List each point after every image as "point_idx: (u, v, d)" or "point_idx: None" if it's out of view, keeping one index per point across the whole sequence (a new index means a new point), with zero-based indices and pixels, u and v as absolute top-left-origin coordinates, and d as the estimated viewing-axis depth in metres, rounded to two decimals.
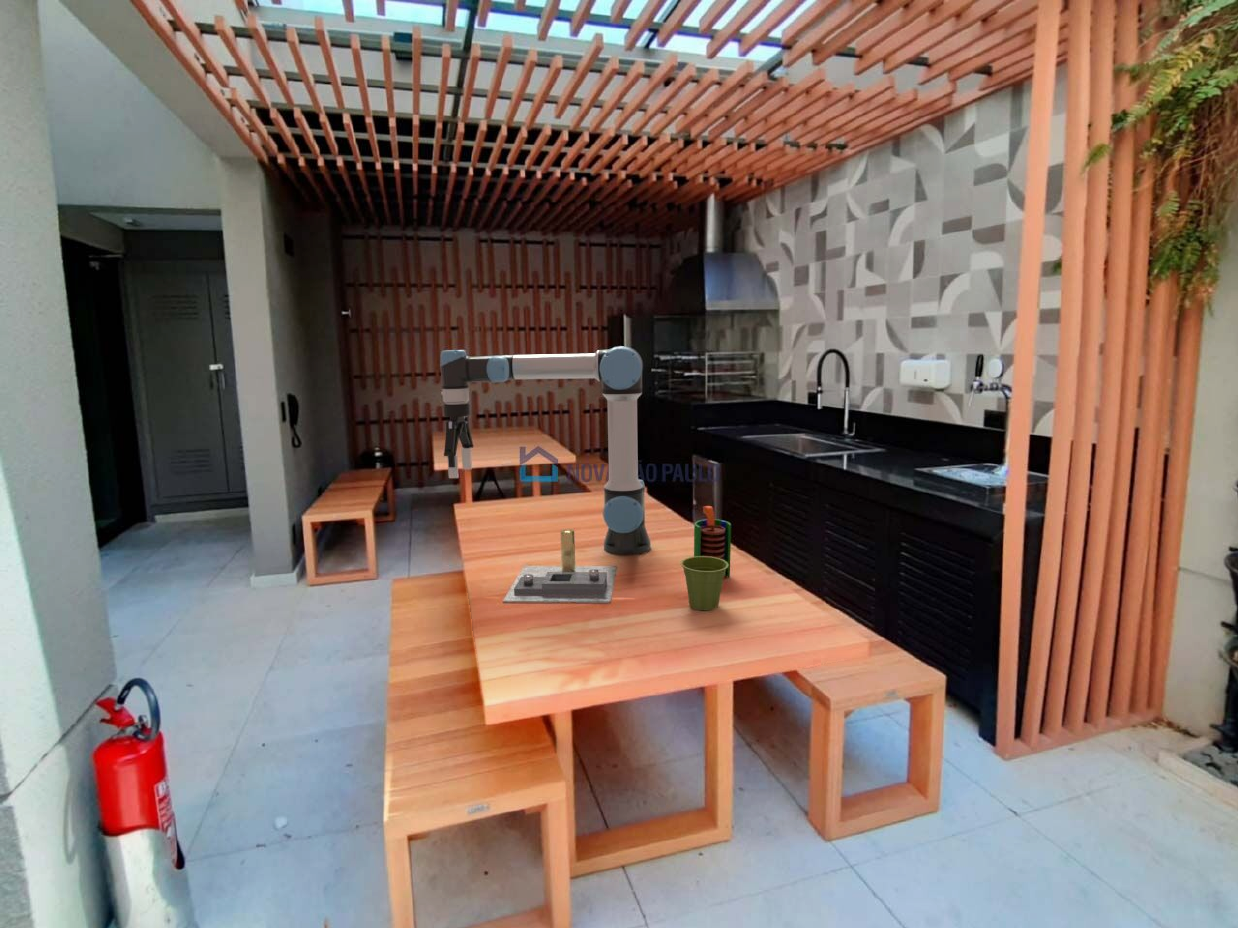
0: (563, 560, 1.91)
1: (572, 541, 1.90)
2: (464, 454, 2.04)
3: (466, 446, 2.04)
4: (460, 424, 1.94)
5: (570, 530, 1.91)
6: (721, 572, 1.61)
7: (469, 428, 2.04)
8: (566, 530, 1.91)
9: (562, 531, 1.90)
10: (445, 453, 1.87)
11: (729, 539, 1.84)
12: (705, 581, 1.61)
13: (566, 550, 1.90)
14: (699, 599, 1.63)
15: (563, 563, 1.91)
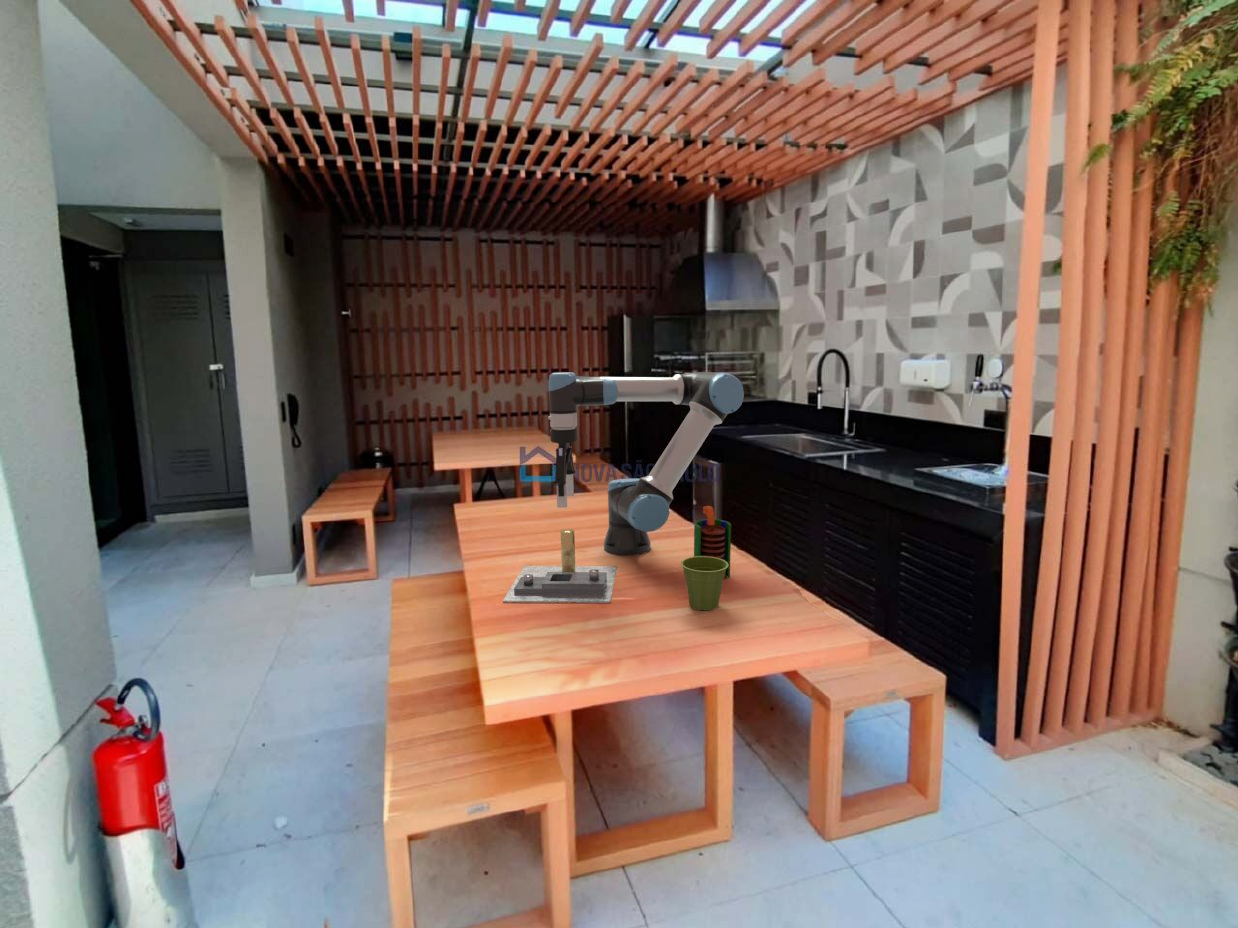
0: (563, 560, 1.91)
1: (572, 541, 1.90)
2: (566, 480, 1.95)
3: (568, 472, 1.95)
4: (568, 450, 1.84)
5: (570, 530, 1.91)
6: (721, 572, 1.61)
7: None
8: (566, 530, 1.91)
9: (562, 531, 1.90)
10: (556, 482, 1.78)
11: (729, 539, 1.84)
12: (705, 581, 1.61)
13: (566, 550, 1.90)
14: (699, 599, 1.63)
15: (563, 563, 1.91)
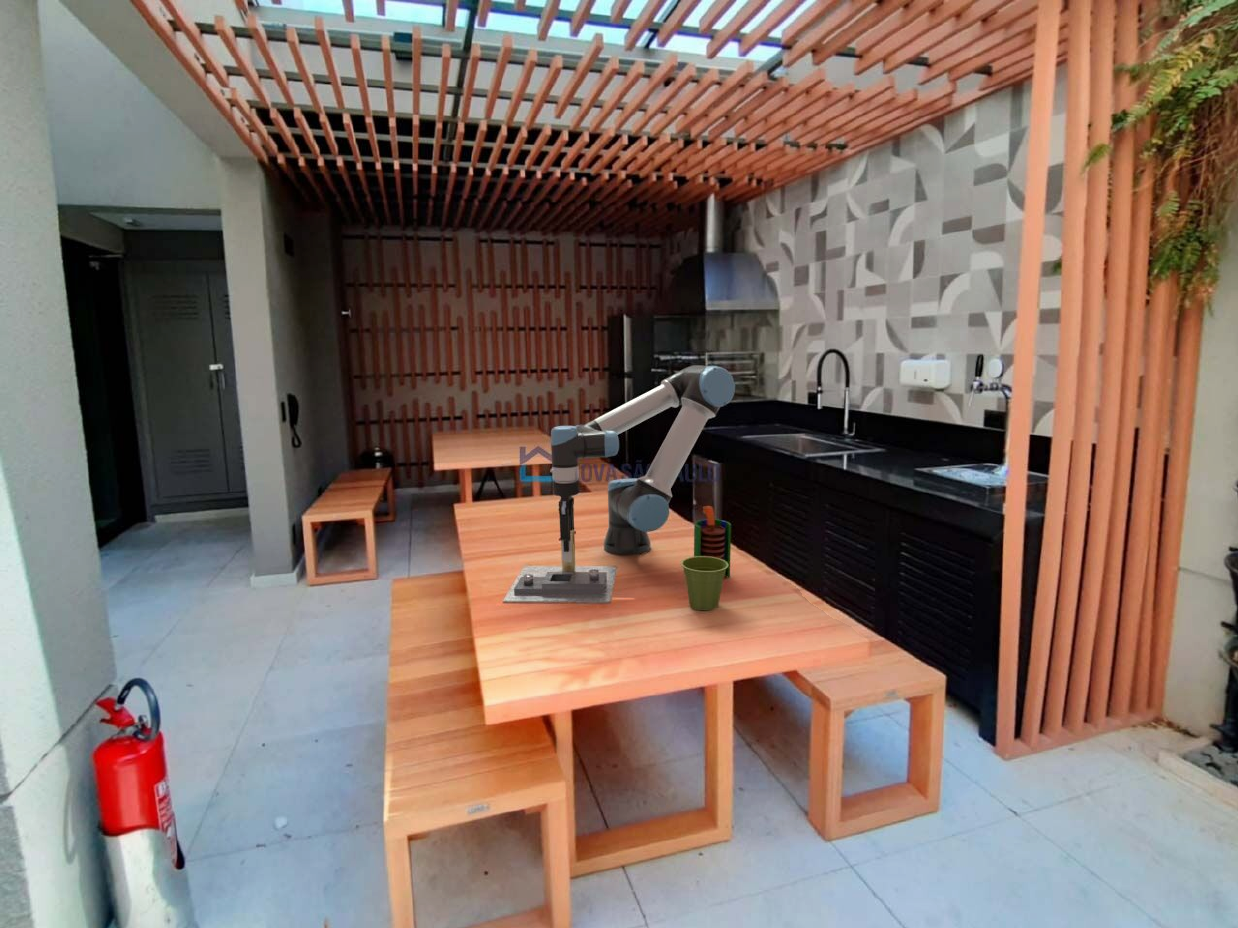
0: None
1: (572, 541, 1.90)
2: None
3: None
4: (570, 504, 1.87)
5: (570, 530, 1.91)
6: (721, 572, 1.61)
7: (573, 511, 1.96)
8: None
9: None
10: (561, 538, 1.85)
11: (729, 539, 1.84)
12: (705, 581, 1.61)
13: None
14: (699, 599, 1.63)
15: (563, 563, 1.91)
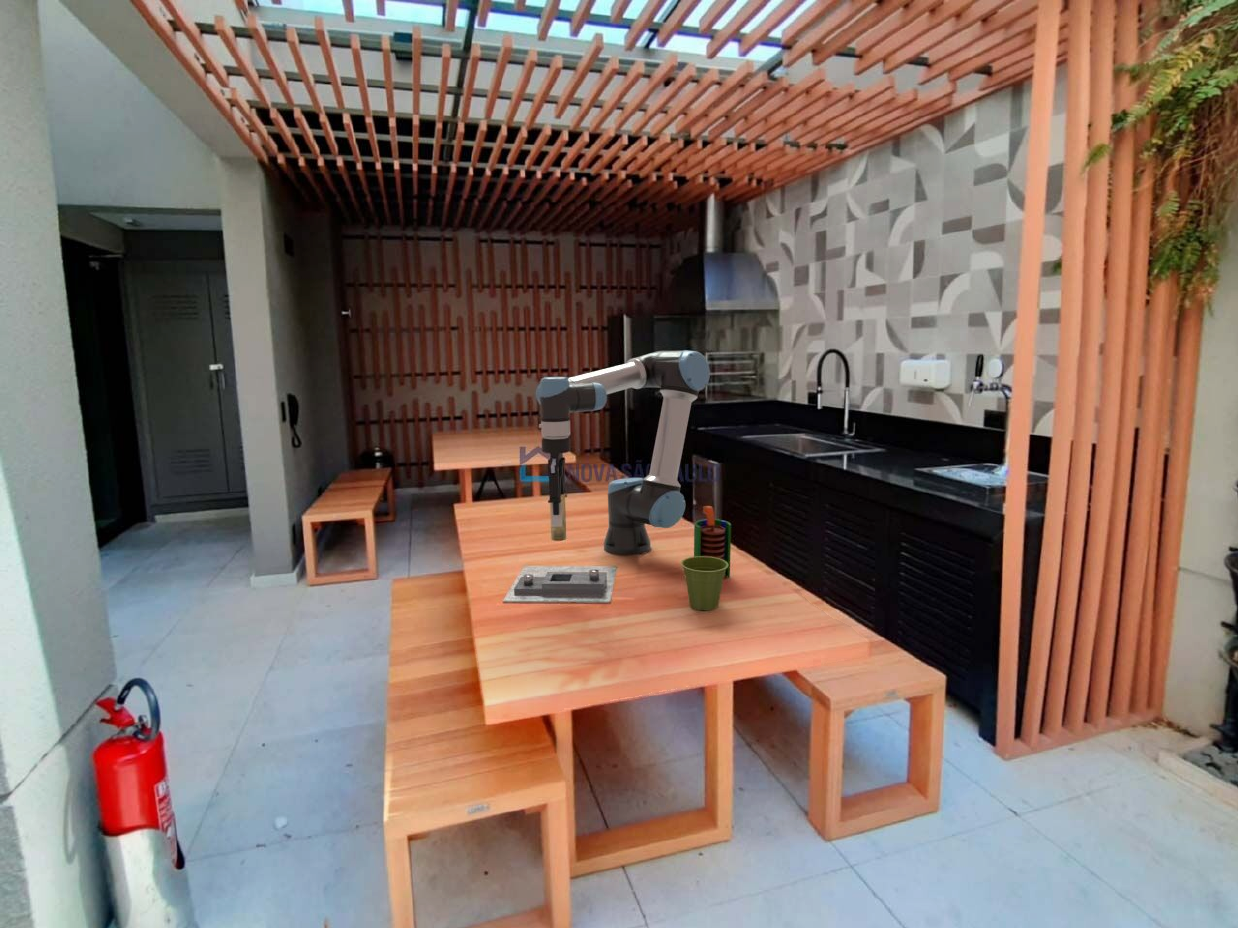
0: (553, 527, 1.74)
1: (562, 506, 1.74)
2: None
3: None
4: (561, 462, 1.71)
5: None
6: (721, 572, 1.61)
7: (564, 472, 1.79)
8: None
9: None
10: (551, 500, 1.69)
11: (729, 539, 1.84)
12: (705, 581, 1.61)
13: None
14: (699, 599, 1.63)
15: (553, 530, 1.75)
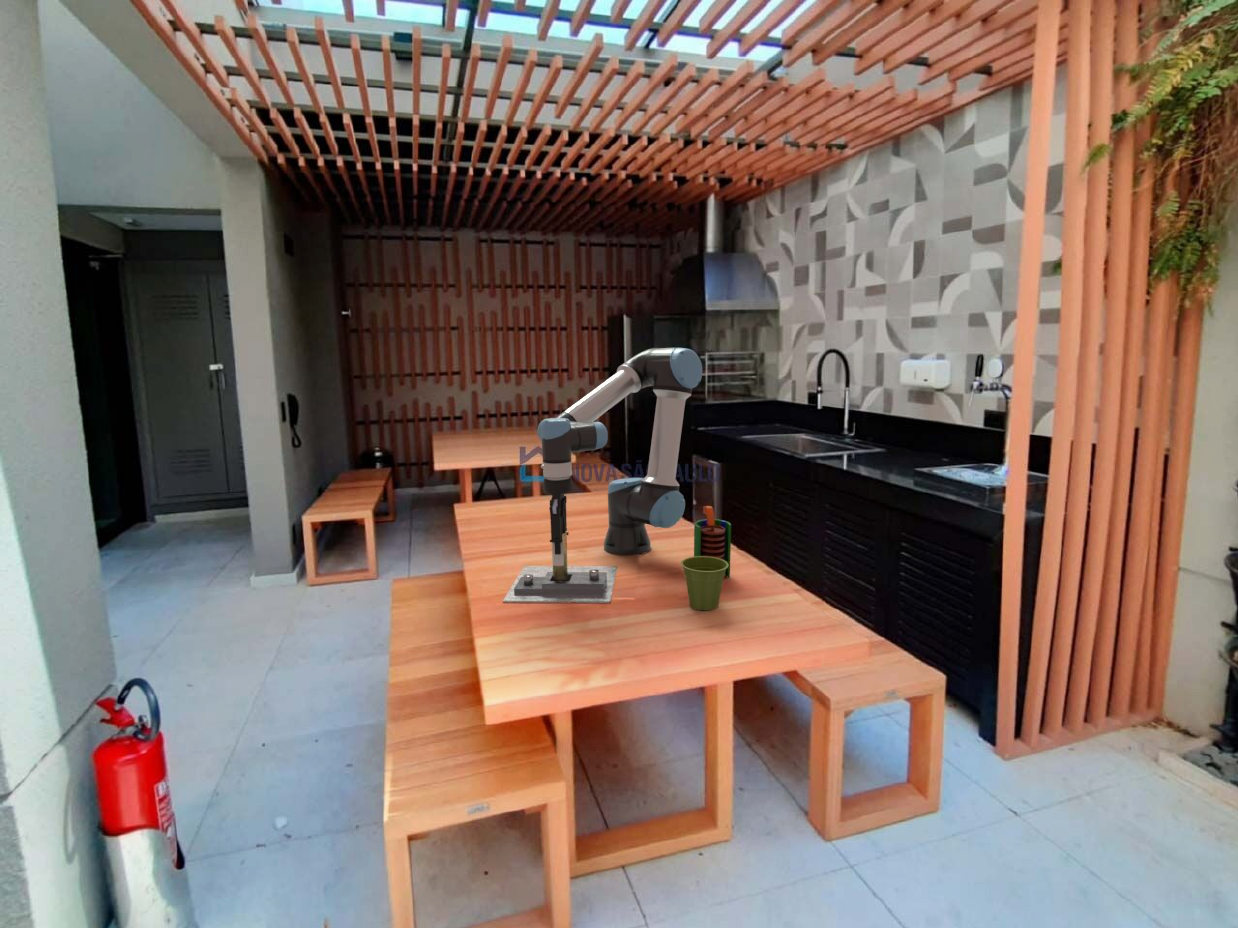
0: (554, 566, 1.76)
1: (564, 545, 1.76)
2: None
3: None
4: (562, 503, 1.73)
5: (562, 533, 1.77)
6: (721, 572, 1.61)
7: None
8: None
9: None
10: (552, 540, 1.71)
11: (729, 539, 1.84)
12: (705, 581, 1.61)
13: None
14: (699, 599, 1.63)
15: (554, 569, 1.77)
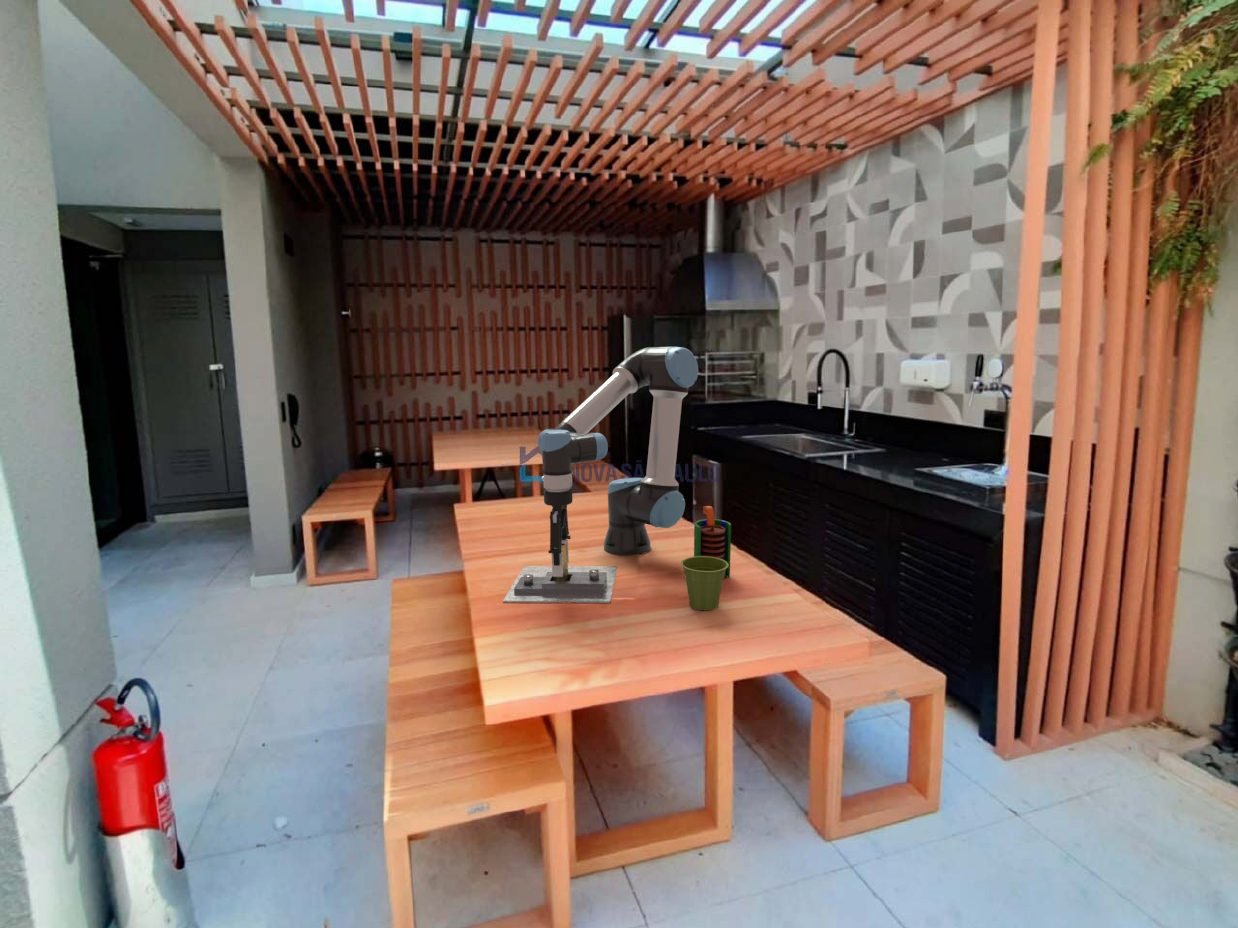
0: (555, 577, 1.77)
1: (565, 556, 1.76)
2: None
3: (563, 537, 1.82)
4: (563, 513, 1.73)
5: (563, 545, 1.78)
6: (721, 572, 1.61)
7: None
8: None
9: None
10: (551, 551, 1.69)
11: (729, 539, 1.84)
12: (705, 581, 1.61)
13: None
14: (699, 599, 1.63)
15: (555, 580, 1.77)
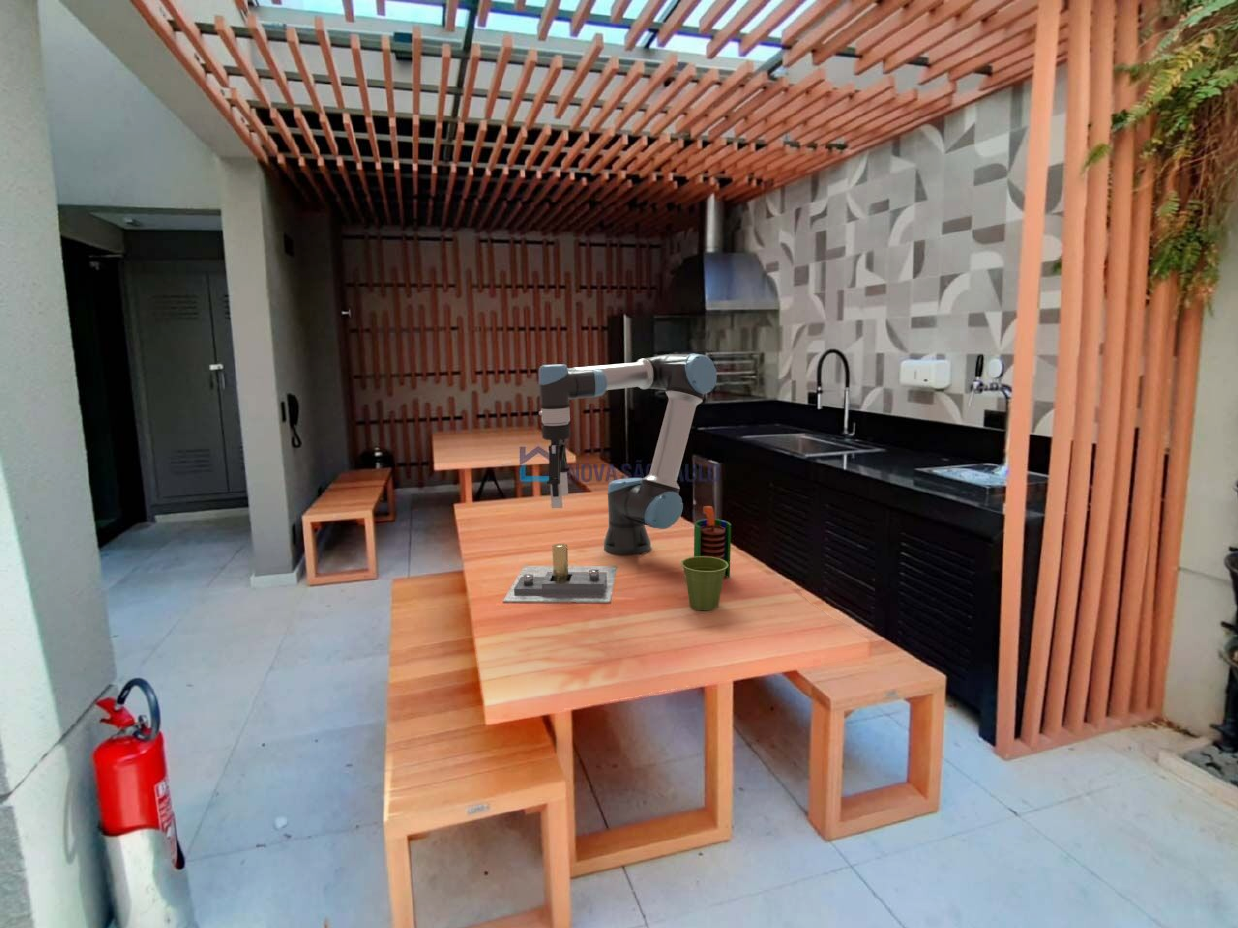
0: (555, 577, 1.77)
1: (565, 557, 1.76)
2: (560, 479, 1.84)
3: (562, 470, 1.84)
4: (561, 447, 1.74)
5: (563, 545, 1.78)
6: (721, 572, 1.61)
7: None
8: (558, 545, 1.78)
9: (554, 546, 1.77)
10: (550, 481, 1.67)
11: (729, 539, 1.84)
12: (705, 581, 1.61)
13: (558, 566, 1.76)
14: (699, 599, 1.63)
15: (555, 580, 1.77)
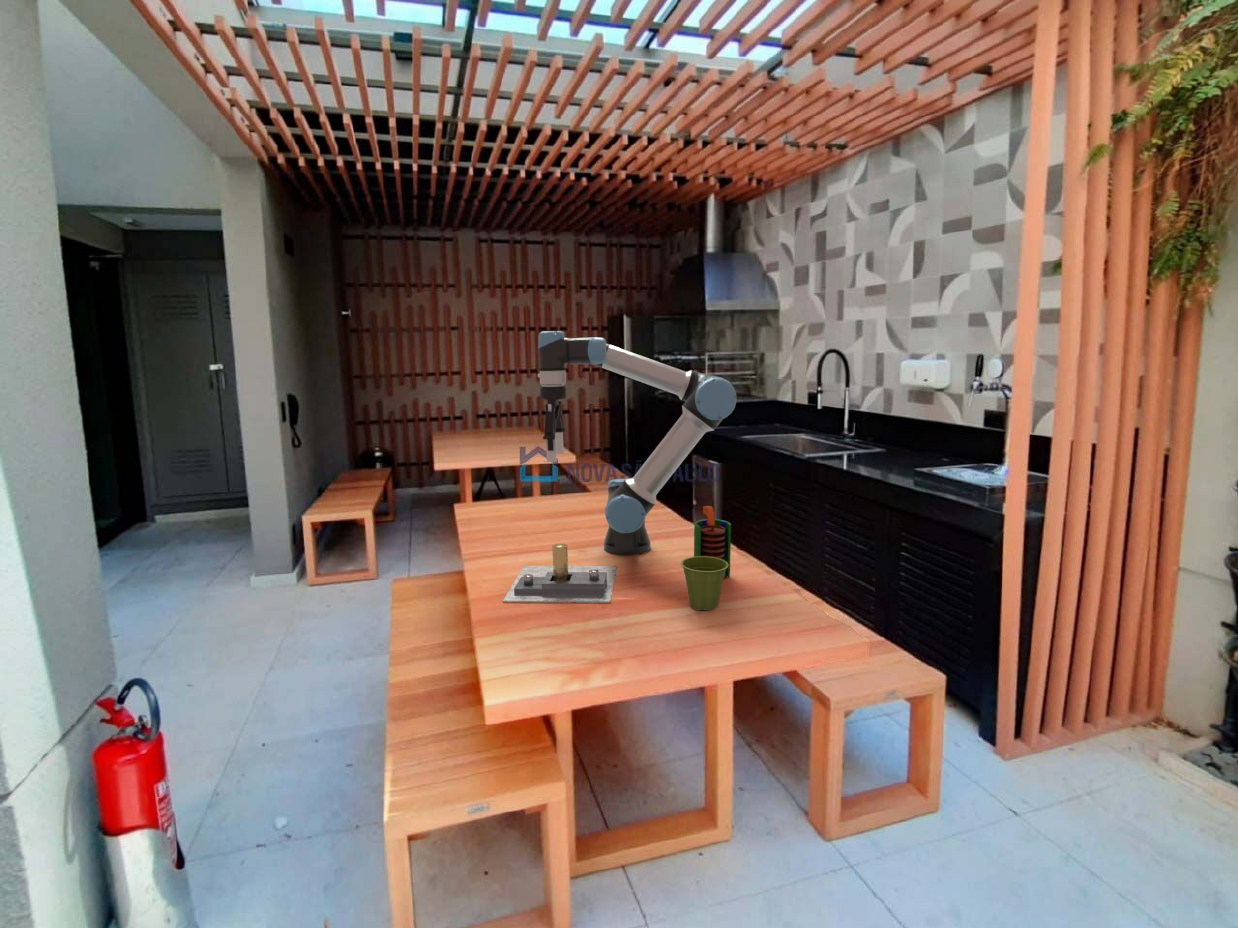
0: (555, 577, 1.77)
1: (565, 557, 1.76)
2: (556, 438, 2.01)
3: (558, 430, 2.01)
4: (557, 407, 1.91)
5: (563, 545, 1.78)
6: (721, 572, 1.61)
7: (561, 412, 2.00)
8: (558, 545, 1.78)
9: (554, 546, 1.77)
10: (545, 436, 1.84)
11: (729, 539, 1.84)
12: (705, 581, 1.61)
13: (558, 566, 1.76)
14: (699, 599, 1.63)
15: (555, 580, 1.77)
